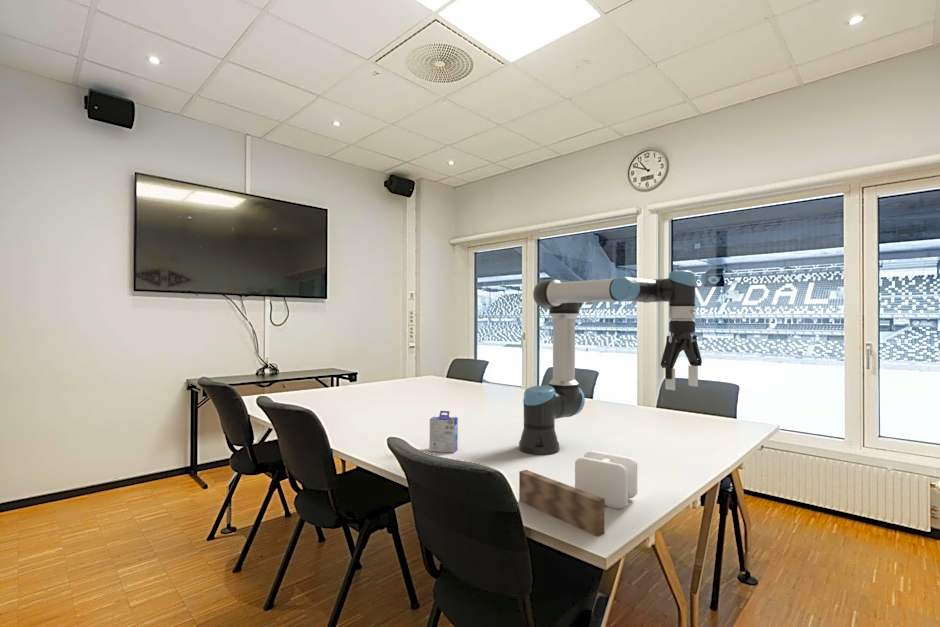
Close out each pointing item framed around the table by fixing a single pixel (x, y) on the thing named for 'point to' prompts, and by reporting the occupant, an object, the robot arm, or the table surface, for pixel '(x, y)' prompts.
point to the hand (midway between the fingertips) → (681, 387)
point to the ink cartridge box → (444, 433)
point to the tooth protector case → (607, 477)
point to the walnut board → (563, 502)
